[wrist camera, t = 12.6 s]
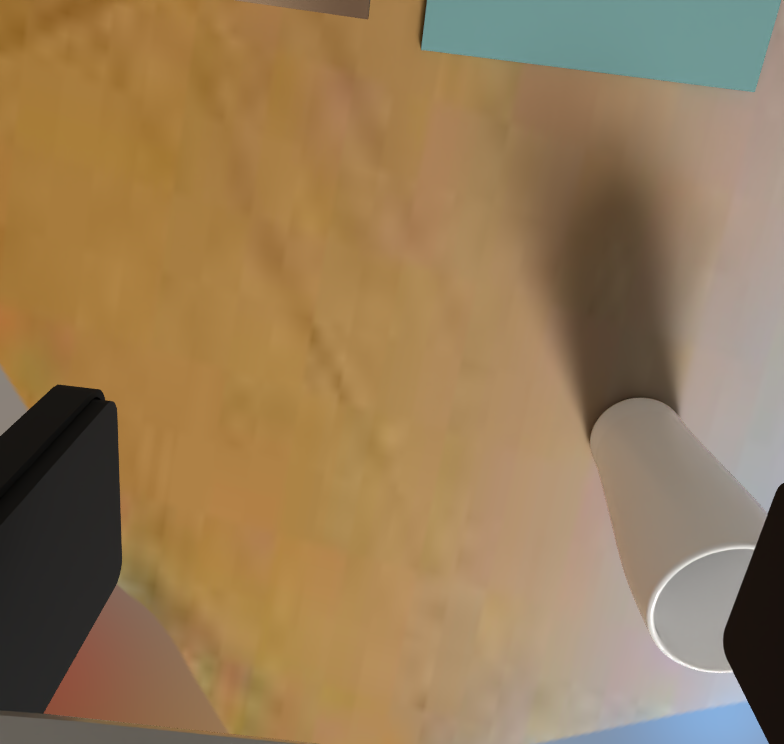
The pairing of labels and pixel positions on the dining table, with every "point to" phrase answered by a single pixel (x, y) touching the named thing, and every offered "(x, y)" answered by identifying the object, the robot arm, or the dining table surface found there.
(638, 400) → the drinking glass
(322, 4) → the walnut cover
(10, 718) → the robot arm
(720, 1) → the teal mat
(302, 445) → the dining table surface
